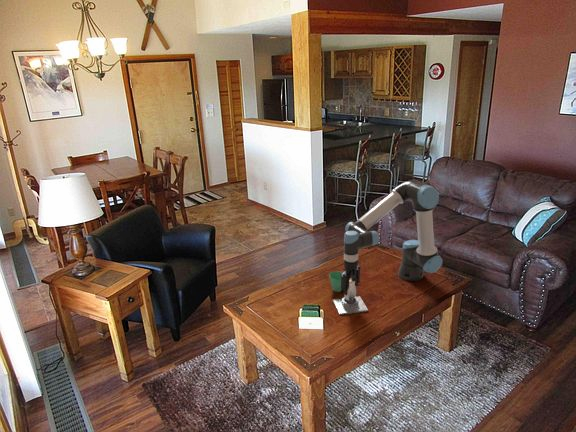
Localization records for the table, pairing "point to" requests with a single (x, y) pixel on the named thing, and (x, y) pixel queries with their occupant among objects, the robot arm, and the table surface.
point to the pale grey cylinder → (351, 291)
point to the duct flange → (350, 306)
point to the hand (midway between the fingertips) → (350, 297)
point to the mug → (336, 280)
